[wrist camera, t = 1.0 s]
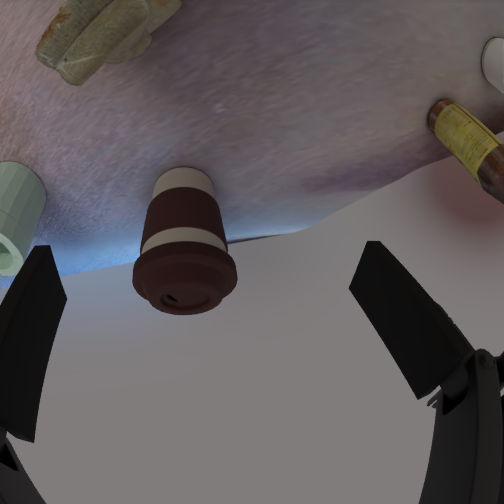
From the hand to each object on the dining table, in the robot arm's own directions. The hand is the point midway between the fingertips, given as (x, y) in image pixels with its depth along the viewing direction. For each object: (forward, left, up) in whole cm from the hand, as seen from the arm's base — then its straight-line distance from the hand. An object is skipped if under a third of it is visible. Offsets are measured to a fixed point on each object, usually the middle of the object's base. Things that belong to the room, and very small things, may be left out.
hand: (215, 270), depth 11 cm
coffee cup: (+12, -8, -21) cm, 25 cm away
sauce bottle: (+13, +28, -21) cm, 37 cm away
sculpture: (-9, -2, -21) cm, 23 cm away
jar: (-1, -28, -21) cm, 35 cm away
